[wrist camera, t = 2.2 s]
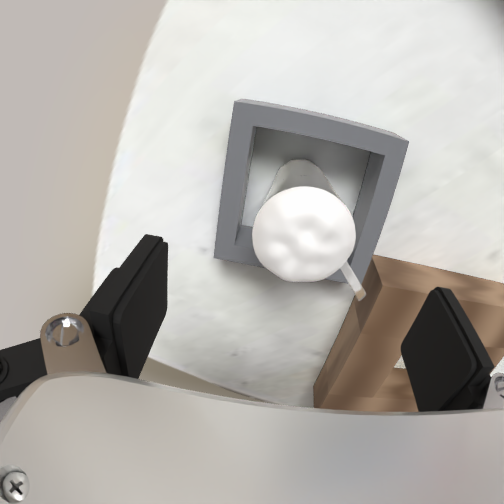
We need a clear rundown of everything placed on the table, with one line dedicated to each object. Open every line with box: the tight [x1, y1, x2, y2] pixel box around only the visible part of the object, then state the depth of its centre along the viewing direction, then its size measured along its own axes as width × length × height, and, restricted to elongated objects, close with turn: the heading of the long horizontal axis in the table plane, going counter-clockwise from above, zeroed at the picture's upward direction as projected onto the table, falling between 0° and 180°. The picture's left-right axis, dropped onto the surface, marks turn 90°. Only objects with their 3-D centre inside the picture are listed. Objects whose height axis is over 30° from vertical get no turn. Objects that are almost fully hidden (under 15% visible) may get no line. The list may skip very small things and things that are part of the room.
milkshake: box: [252, 159, 366, 301], centre depth 17 cm, size 4×5×10 cm
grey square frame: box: [214, 99, 409, 284], centre depth 20 cm, size 10×10×3 cm
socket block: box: [314, 255, 504, 412], centre depth 25 cm, size 16×16×4 cm
